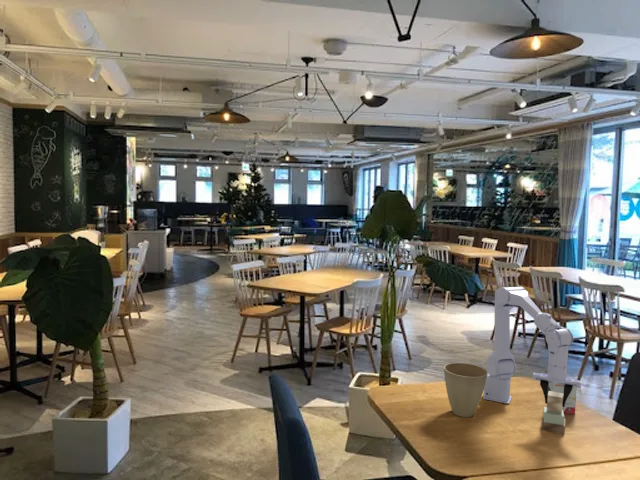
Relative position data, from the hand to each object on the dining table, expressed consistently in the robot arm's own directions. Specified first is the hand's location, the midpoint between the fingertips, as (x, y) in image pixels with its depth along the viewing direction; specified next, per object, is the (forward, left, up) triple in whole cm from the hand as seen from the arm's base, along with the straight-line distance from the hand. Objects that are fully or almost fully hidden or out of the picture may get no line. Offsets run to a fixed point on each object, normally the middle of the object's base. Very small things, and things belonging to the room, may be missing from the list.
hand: (554, 404), depth 170 cm
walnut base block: (0, 0, -9) cm, 9 cm away
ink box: (+1, +17, -8) cm, 19 cm away
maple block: (0, 0, -2) cm, 2 cm away
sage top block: (0, 0, -6) cm, 6 cm away
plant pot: (-29, -4, -8) cm, 30 cm away
